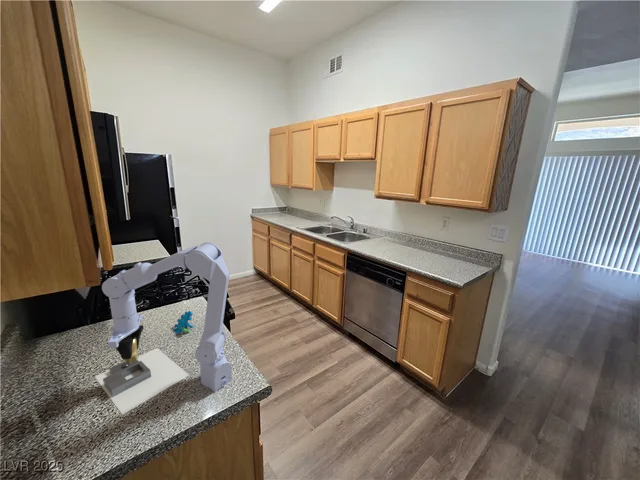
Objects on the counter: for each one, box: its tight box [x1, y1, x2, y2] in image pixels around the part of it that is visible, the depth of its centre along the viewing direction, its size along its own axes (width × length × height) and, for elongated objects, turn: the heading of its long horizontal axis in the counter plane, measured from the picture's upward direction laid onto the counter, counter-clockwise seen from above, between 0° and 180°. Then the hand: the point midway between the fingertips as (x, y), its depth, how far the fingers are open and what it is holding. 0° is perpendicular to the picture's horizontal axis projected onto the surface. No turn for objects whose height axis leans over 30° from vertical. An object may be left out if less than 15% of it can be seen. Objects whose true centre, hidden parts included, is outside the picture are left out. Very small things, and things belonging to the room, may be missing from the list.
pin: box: [124, 337, 139, 364], centre depth 79 cm, size 3×3×7 cm
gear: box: [172, 310, 194, 335], centre depth 108 cm, size 11×6×10 cm
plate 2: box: [103, 361, 151, 397], centre depth 80 cm, size 7×10×2 cm
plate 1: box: [108, 360, 151, 390], centre depth 82 cm, size 12×7×2 cm, turn 55°
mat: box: [94, 348, 190, 415], centre depth 82 cm, size 22×18×1 cm
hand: (130, 354), depth 79 cm, fingers closed on pin, 3 cm apart
